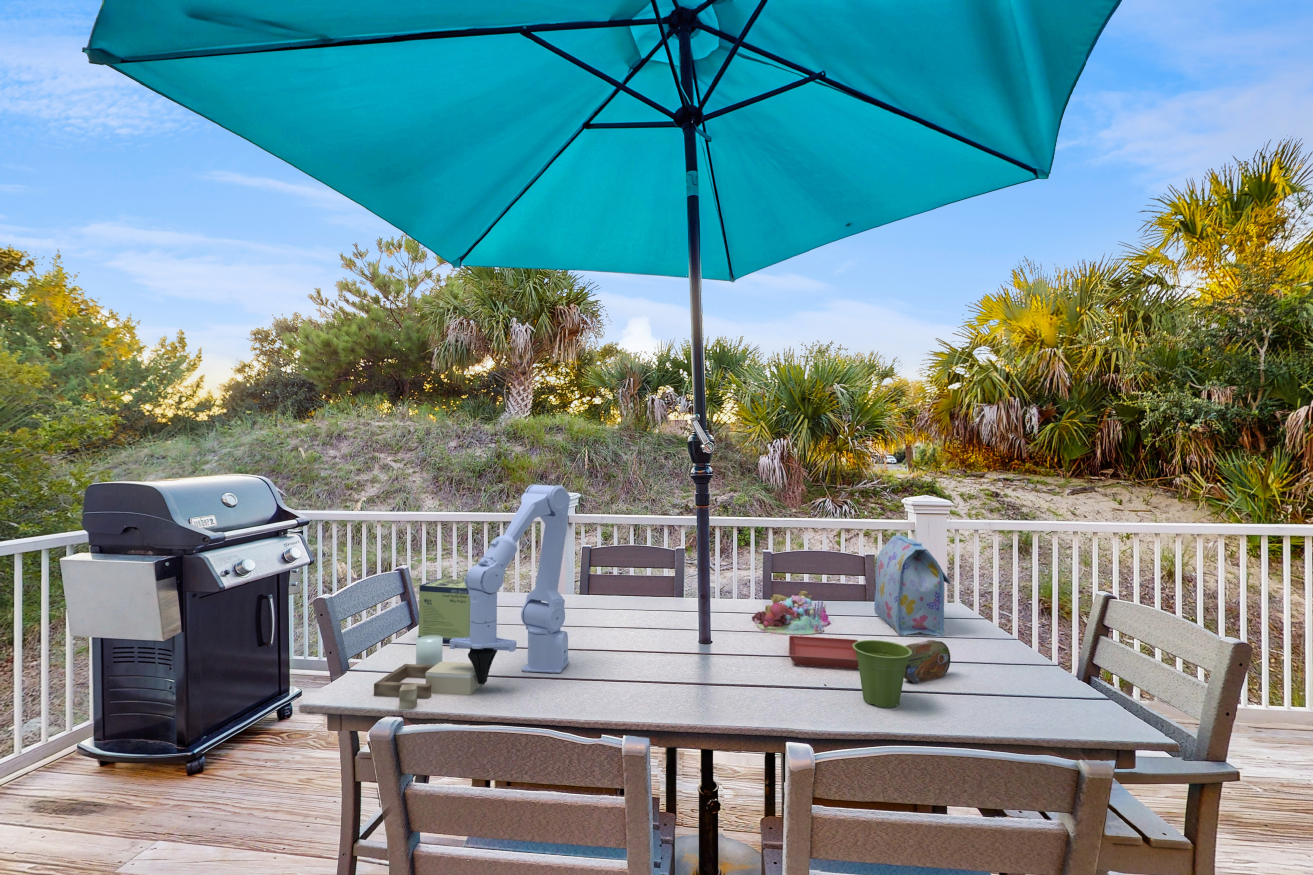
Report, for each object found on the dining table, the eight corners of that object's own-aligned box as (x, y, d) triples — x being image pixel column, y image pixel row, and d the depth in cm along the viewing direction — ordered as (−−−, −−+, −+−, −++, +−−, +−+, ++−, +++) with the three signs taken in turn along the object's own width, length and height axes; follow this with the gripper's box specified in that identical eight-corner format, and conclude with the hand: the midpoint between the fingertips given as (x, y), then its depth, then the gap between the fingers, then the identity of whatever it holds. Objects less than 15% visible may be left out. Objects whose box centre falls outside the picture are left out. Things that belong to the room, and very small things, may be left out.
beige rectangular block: (482, 683, 144) (483, 663, 144) (470, 695, 137) (470, 674, 137) (440, 681, 146) (440, 661, 146) (425, 692, 139) (425, 671, 139)
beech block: (417, 703, 133) (417, 683, 133) (414, 708, 130) (415, 688, 130) (401, 704, 132) (401, 684, 132) (399, 710, 129) (399, 690, 129)
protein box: (469, 645, 172) (470, 587, 173) (417, 641, 176) (418, 584, 176) (487, 634, 183) (488, 580, 183) (437, 631, 186) (438, 577, 186)
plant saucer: (788, 646, 174) (788, 634, 175) (858, 651, 171) (858, 638, 171) (788, 668, 157) (788, 654, 157) (865, 673, 153) (865, 659, 153)
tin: (906, 685, 144) (906, 648, 145) (895, 681, 147) (895, 644, 147) (951, 675, 151) (951, 639, 152) (940, 671, 154) (940, 636, 154)
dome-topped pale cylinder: (446, 664, 157) (446, 635, 158) (435, 672, 151) (435, 642, 152) (423, 662, 158) (423, 634, 158) (411, 671, 152) (411, 641, 152)
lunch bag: (955, 637, 182) (955, 544, 183) (896, 637, 183) (896, 543, 183) (923, 617, 205) (923, 534, 206) (871, 616, 205) (870, 533, 206)
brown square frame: (454, 677, 148) (454, 666, 148) (428, 698, 135) (428, 686, 135) (404, 674, 150) (405, 663, 150) (373, 695, 137) (373, 683, 137)
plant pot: (880, 716, 127) (880, 659, 127) (840, 695, 138) (840, 643, 138) (925, 707, 132) (924, 652, 132) (883, 688, 143) (883, 637, 143)
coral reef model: (744, 615, 207) (744, 586, 208) (814, 613, 210) (814, 585, 210) (766, 637, 183) (766, 605, 183) (845, 635, 185) (845, 603, 185)
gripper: (443, 623, 138) (442, 687, 137) (508, 626, 136) (508, 690, 136) (457, 615, 145) (456, 676, 144) (519, 617, 143) (519, 679, 143)
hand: (482, 682), depth 141 cm, fingers closed
